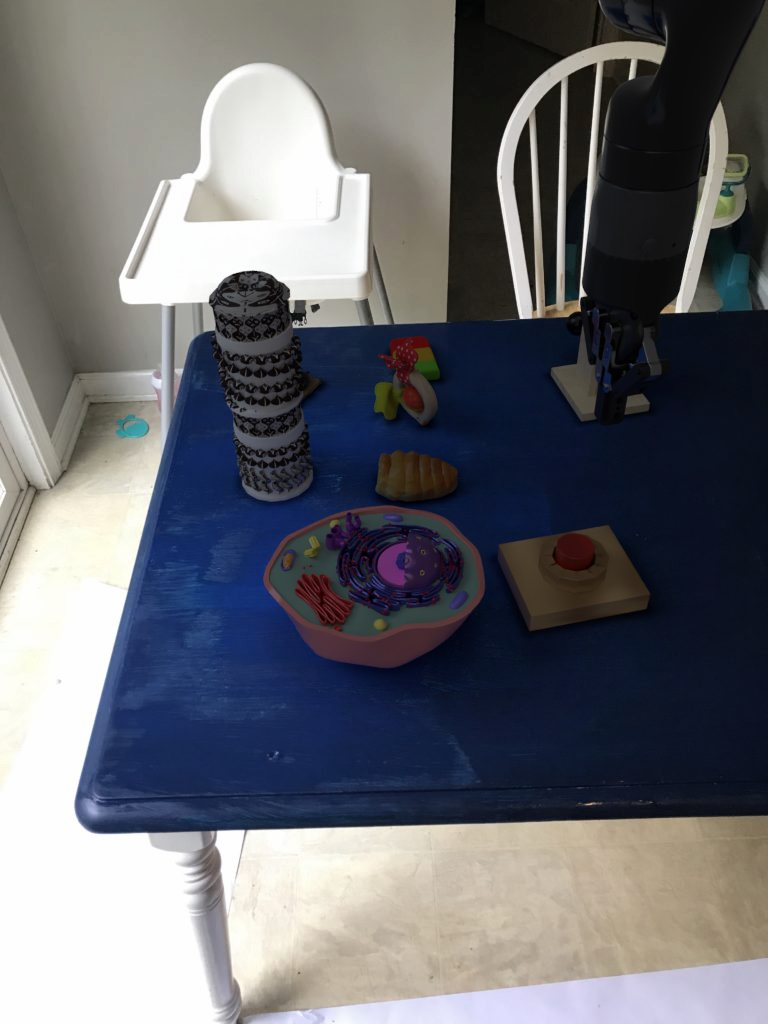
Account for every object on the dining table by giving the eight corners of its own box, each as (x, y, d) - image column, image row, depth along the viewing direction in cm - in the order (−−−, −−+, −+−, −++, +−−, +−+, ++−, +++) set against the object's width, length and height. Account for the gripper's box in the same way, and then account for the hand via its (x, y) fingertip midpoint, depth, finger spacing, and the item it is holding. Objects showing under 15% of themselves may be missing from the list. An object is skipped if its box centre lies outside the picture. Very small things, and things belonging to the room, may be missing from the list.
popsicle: (426, 345, 119) (426, 333, 118) (448, 404, 108) (448, 392, 107) (388, 349, 118) (388, 338, 117) (406, 410, 107) (406, 397, 106)
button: (583, 542, 83) (586, 530, 82) (598, 568, 80) (600, 555, 79) (549, 549, 83) (551, 536, 81) (562, 574, 80) (564, 561, 79)
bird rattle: (440, 425, 108) (392, 379, 110) (469, 371, 99) (416, 321, 101) (407, 448, 105) (359, 399, 107) (434, 394, 96) (381, 342, 97)
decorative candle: (222, 490, 97) (179, 293, 80) (267, 446, 103) (235, 254, 86) (288, 513, 93) (258, 313, 76) (330, 466, 99) (311, 270, 82)
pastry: (457, 467, 98) (458, 442, 96) (457, 506, 93) (458, 480, 91) (378, 467, 99) (376, 441, 96) (374, 505, 94) (373, 479, 91)
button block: (605, 539, 88) (611, 512, 86) (646, 609, 81) (654, 581, 78) (497, 559, 87) (499, 531, 84) (529, 631, 80) (532, 603, 77)
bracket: (550, 375, 112) (560, 291, 104) (613, 365, 113) (627, 282, 105) (581, 421, 104) (594, 335, 96) (648, 411, 105) (667, 324, 97)
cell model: (293, 559, 88) (280, 477, 80) (483, 569, 86) (488, 486, 78) (258, 691, 76) (239, 609, 68) (479, 707, 73) (484, 625, 66)
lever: (563, 337, 113) (561, 313, 112) (585, 334, 113) (583, 310, 113) (603, 335, 100) (601, 308, 100) (628, 332, 101) (626, 305, 100)
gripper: (730, 265, 58) (682, 457, 70) (646, 194, 68) (616, 373, 79) (629, 280, 57) (597, 473, 69) (559, 206, 67) (542, 386, 79)
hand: (607, 419), depth 74 cm, fingers closed
